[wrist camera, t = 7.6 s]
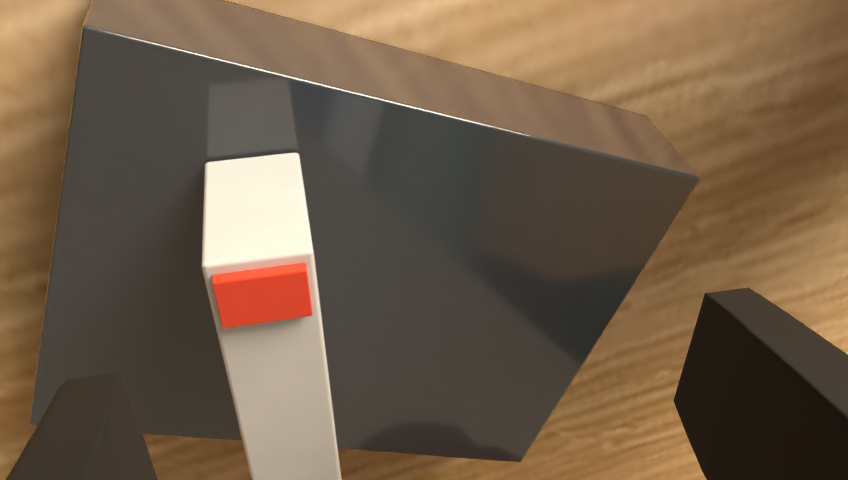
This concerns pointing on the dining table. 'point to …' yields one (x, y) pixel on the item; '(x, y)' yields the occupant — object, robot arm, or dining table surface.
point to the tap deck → (347, 224)
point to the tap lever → (269, 315)
